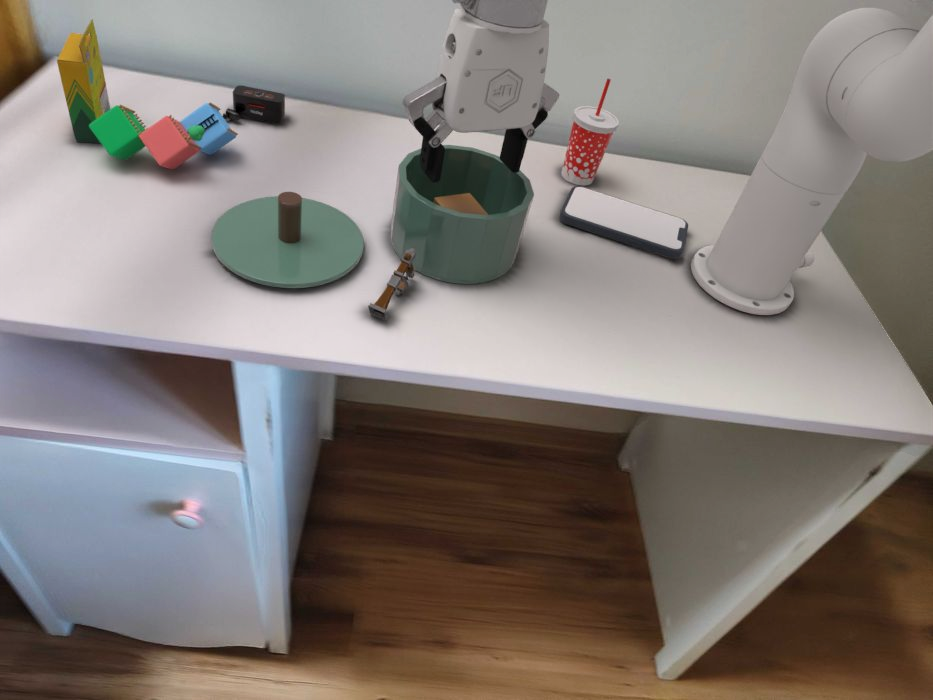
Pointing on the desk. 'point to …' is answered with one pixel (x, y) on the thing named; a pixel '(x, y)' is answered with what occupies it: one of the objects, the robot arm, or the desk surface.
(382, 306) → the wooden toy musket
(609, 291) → the desk surface
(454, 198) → the oak block
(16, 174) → the desk surface
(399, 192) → the tin
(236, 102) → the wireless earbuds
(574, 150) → the beverage cup
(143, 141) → the building blocks
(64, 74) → the crayon box
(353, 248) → the lid
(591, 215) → the smartphone
